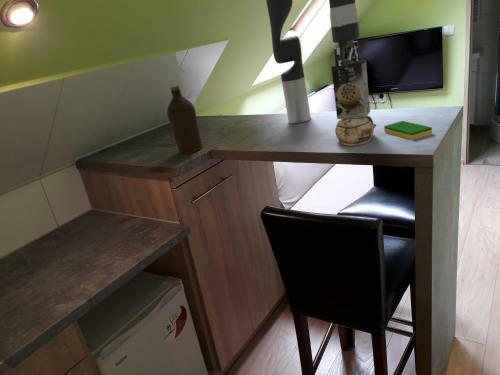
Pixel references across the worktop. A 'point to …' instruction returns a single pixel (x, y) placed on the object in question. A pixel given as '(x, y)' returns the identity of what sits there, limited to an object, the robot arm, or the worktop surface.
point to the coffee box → (352, 91)
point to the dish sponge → (408, 130)
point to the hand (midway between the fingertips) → (350, 80)
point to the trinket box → (355, 130)
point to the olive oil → (184, 123)
